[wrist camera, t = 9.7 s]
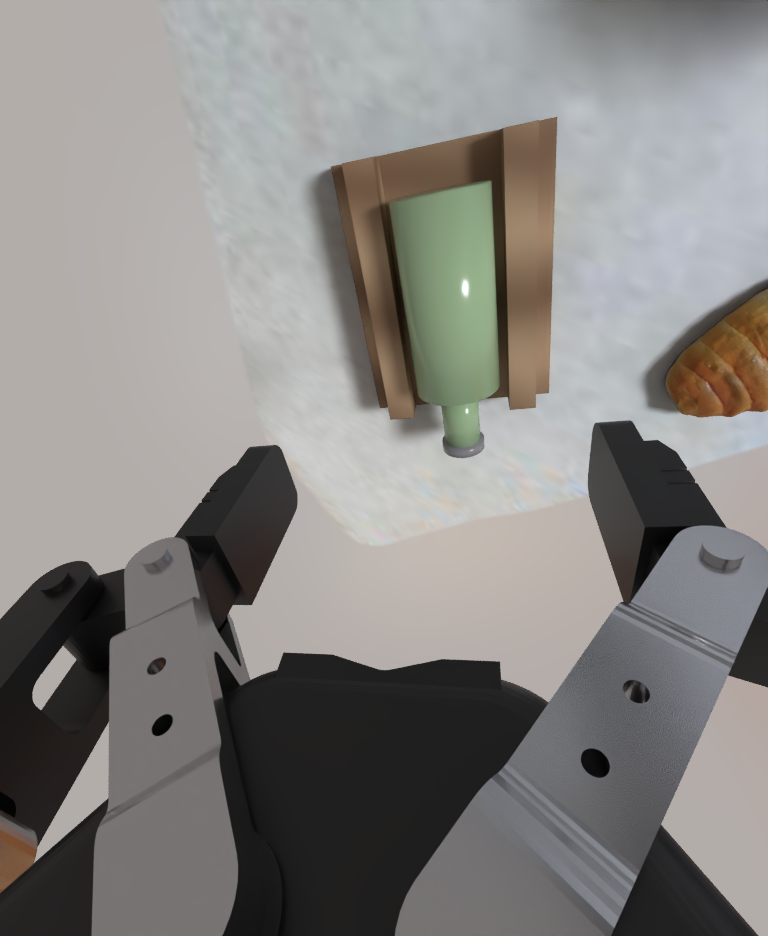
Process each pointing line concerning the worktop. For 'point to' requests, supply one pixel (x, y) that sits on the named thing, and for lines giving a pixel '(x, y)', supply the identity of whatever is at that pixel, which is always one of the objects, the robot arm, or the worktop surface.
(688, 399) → the pastry
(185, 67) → the worktop surface
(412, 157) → the cradle
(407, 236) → the bottle
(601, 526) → the robot arm
